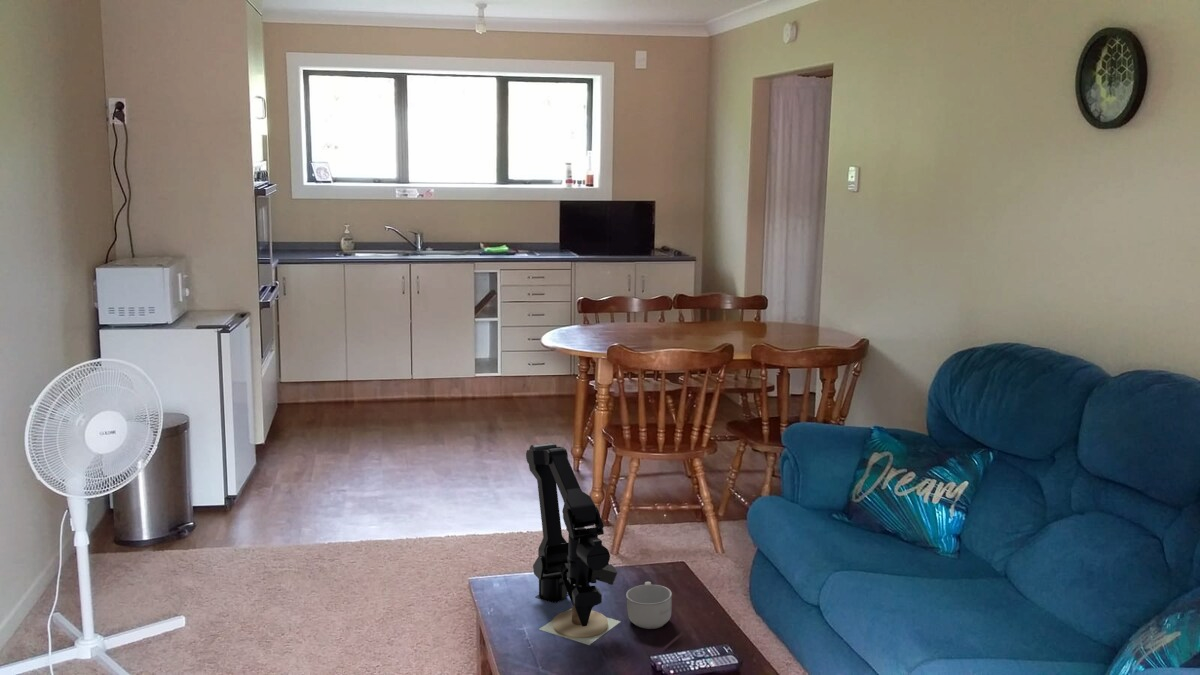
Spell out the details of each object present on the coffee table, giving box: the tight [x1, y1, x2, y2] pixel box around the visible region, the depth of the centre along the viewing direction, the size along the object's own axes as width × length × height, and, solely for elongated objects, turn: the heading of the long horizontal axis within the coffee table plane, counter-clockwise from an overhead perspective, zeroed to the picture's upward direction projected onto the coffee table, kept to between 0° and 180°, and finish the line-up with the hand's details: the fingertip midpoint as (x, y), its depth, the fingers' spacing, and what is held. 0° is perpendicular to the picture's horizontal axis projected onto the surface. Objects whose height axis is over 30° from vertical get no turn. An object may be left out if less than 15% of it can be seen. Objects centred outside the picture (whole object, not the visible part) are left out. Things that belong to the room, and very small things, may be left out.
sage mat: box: [538, 607, 622, 646], centre depth 231 cm, size 14×14×1 cm
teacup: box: [625, 581, 673, 630], centre depth 234 cm, size 14×11×8 cm
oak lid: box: [552, 605, 608, 638], centre depth 231 cm, size 13×13×4 cm
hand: (580, 617), depth 231 cm, fingers open, 9 cm apart
